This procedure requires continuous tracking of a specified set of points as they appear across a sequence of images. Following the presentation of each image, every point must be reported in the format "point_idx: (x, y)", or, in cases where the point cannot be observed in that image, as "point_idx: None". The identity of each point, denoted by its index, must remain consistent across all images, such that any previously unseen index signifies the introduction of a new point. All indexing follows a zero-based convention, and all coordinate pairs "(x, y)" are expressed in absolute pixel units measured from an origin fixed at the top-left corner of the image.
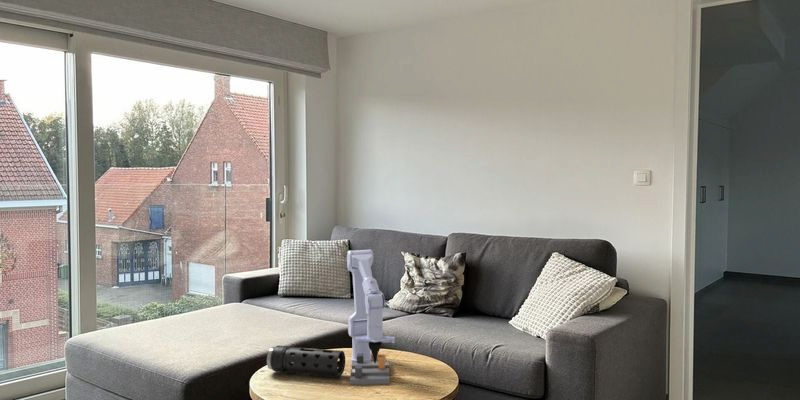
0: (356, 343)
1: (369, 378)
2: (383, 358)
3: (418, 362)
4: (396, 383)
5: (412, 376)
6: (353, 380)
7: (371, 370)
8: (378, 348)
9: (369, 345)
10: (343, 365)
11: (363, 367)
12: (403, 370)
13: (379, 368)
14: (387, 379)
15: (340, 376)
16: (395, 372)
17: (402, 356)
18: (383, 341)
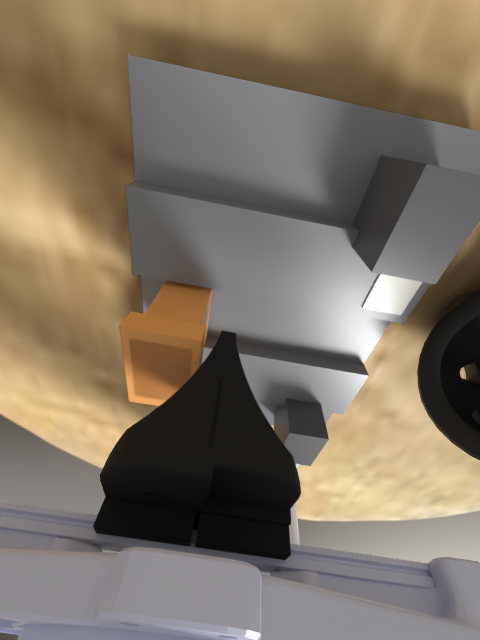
0: (468, 562)
1: (320, 116)
2: (145, 324)
3: (31, 391)
4: (89, 78)
5: (3, 221)
6: (468, 129)
7: (269, 264)
8: (162, 422)
9: (290, 492)
10: (432, 376)
11: (296, 354)
12: (80, 325)
13: (203, 292)
14: (149, 59)
15: (450, 305)
16: (120, 308)
17: (108, 446)
18: (57, 534)
